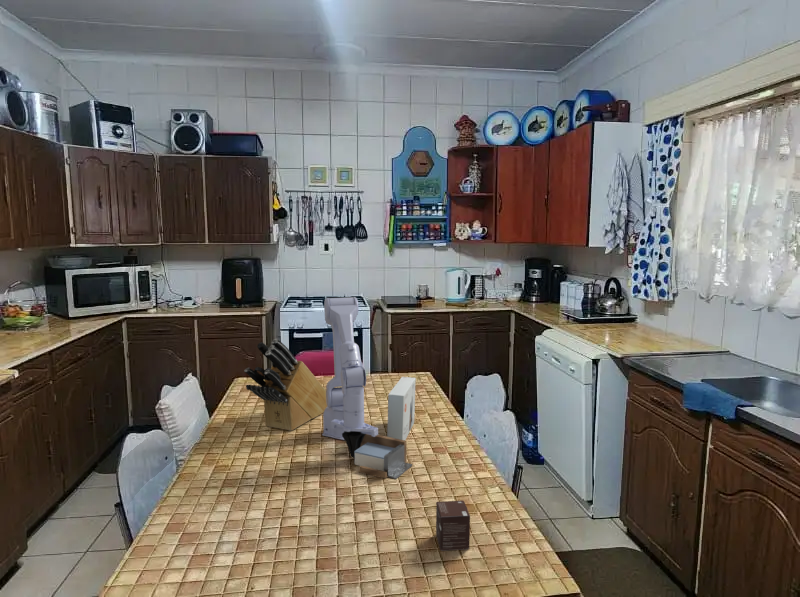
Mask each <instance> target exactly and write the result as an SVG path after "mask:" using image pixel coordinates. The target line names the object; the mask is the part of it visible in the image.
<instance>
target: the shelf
mask: <svg viewBox="0 0 800 597" xmlns="http://www.w3.org/2000/svg"><path fill="white" fill-rule="evenodd" d="M367 442H369V443H374V444H378V445H383V446H388V447H392V448H396V447H397V446H398V445H400V444H404V462H405V463H407V460H408V459H407V440H400V439H395V438H391V437H387V435H386V436H385V435H381V434H378V435H377V436H375V437H373V436H371V435H368V434H365V436H364V438H363V440H362V443H361V446H363V445H364V444H366V443H367ZM361 446H360V447H361ZM359 473H361V474H365V475H370V476H373V477H378V478H381V479H387V478H388V477H387V472H385V471H381V470H377V469H373V468H369V467H365V466H359Z"/></svg>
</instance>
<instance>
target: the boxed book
mask: <svg viewBox="0 0 800 597" xmlns="http://www.w3.org/2000/svg"><path fill="white" fill-rule="evenodd" d="M393 449H394V448H392V447H388V446H383V445H378V444H374V443H369V442H367V443H366V444H364V445H363V446H361V447H360V448H358V449H357V450H355V451H354V457H355V458H354V465H356V466H359V467H360V466H365V467H369V468H373V469H377V470H381V471H384V456H385V455H386V454H388V453H389V452H390V451H392V450H393Z"/></svg>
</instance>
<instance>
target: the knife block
mask: <svg viewBox="0 0 800 597" xmlns="http://www.w3.org/2000/svg"><path fill="white" fill-rule="evenodd" d="M271 344H272V345H270V346H269V347H268V345H267V344H265V343H264V342H259V343H258V344H257V346H256V347H257V348H258V350H259V351H260V353H261V354H262V355H263V356H264V357H265V358H267V359H268V360H269V361H270V362H271V367H270V368H267V367H266V368H265V369H264V368H262V367H261V366H260V367H259V366H256V367H255V368H254V370H253V369H252V368H250V367H246V368H245V369H244V373H245V374H247V375H248V376H249V377H250V379H252V380H253V381H254V382H255V383H256V384H257V385H255V384H246V385H245V388H246V390H247V391H250V392H252V393H253V394H254V395H256V396H257V397H259V398H260V399H262V400H263V406H264V408H263V409H264V422H265V426H266V427H269V428H276V429H283V430H288V431H294V430H295V429H296V428H298V427H300V426H302V425H304V424H306V423H307V422H309V421H311V419H315V418H316V417H318V416H320V415H321V414H324V410H325V409H326V407H327V403H326V388H325V387H324V386H323V385H322V383H321V382H320V380H318V379H317V377H316V376H315V375H314V374H313V373H312V371H311V370H310V368H308V366H307V365H306V364H305V363H304V362H303V361H302V360H297V359H296V357H295V356H294V355H293V353H292V352H291V351H290V349H289V348H288V346H286V345H285V344H284V343H283V342H282V341H281V340H279V339H277V338H274V339H272V341H271Z"/></svg>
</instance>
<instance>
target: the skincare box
mask: <svg viewBox="0 0 800 597" xmlns="http://www.w3.org/2000/svg"><path fill="white" fill-rule="evenodd" d="M415 406H416V377H410V376H409V377H408V376H401V377H400V379H399V380H398V381H397V383H396V384H395V385H394V386H393V388H392V389H391V390H390V392H389V393H388V398H387V428H386V431H387V432H386V437H391V438H395V439H400V440H405V441H407V440H406V439H407V438H408V435H409V434H410V432H411V430H412V428H413V426H414V424H415V409H416V408H415Z"/></svg>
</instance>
